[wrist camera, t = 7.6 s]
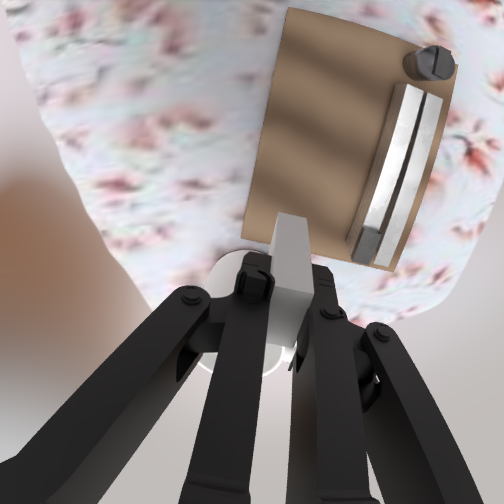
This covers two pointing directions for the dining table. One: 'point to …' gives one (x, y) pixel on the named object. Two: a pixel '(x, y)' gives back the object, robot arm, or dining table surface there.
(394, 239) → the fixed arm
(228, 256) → the mug
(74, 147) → the dining table surface
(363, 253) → the light grey long bar
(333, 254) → the board
